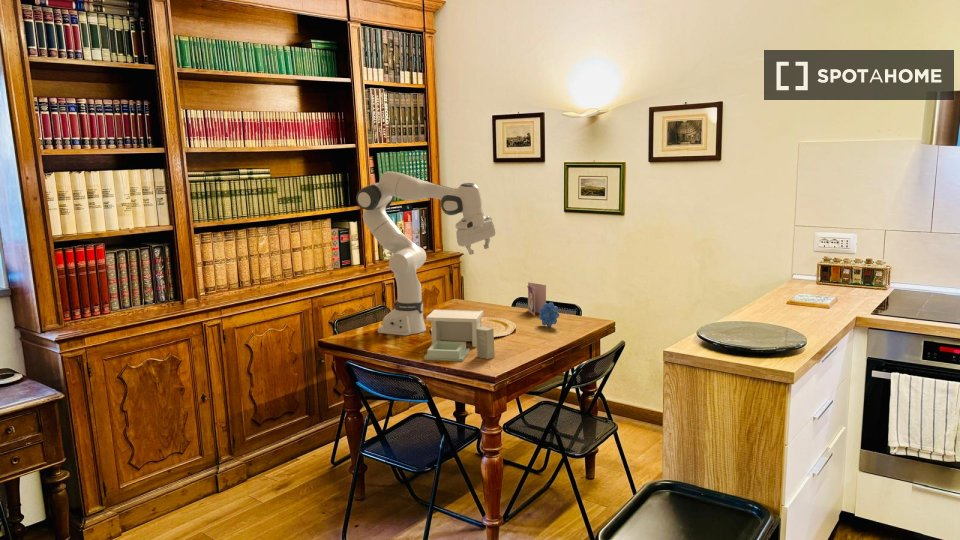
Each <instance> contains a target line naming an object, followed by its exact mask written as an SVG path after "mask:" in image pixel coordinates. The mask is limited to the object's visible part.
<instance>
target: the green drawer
mask: <svg viewBox="0 0 960 540" xmlns="http://www.w3.org/2000/svg"><path fill="white" fill-rule="evenodd" d="M469 353H470V348H467V341H450V340H441V341H435V342H434V343H433V344H432V343H431V345H430V346H429V348H428V349H427V352H426V354H425V355H424V357H423V360H426V361H445V362H446V361H447V362H464V361H465V359H466V357H467V355H468V354H469Z"/></svg>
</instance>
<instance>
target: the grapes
mask: <svg viewBox="0 0 960 540" xmlns="http://www.w3.org/2000/svg"><path fill="white" fill-rule="evenodd" d="M558 311H559V307H558V306H556V305H555V304H554V303H553V302H548V303H547V302H546V303H545V304H544V305H543V308H540V310H539V316H538V320H540V321H541V324H542V326H547V327H548V328H551V327H552V326H553V325H555V324H556V323H557V322H558V318H559V317H560V313H559V312H558Z"/></svg>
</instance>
